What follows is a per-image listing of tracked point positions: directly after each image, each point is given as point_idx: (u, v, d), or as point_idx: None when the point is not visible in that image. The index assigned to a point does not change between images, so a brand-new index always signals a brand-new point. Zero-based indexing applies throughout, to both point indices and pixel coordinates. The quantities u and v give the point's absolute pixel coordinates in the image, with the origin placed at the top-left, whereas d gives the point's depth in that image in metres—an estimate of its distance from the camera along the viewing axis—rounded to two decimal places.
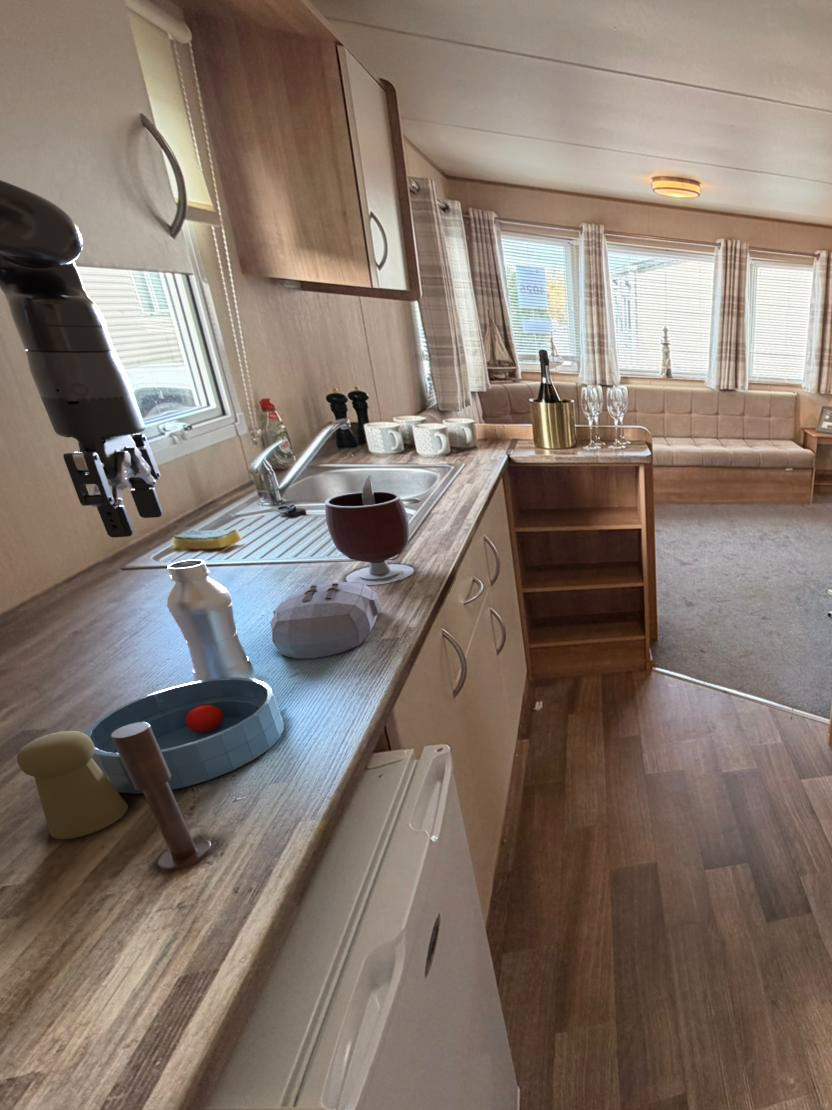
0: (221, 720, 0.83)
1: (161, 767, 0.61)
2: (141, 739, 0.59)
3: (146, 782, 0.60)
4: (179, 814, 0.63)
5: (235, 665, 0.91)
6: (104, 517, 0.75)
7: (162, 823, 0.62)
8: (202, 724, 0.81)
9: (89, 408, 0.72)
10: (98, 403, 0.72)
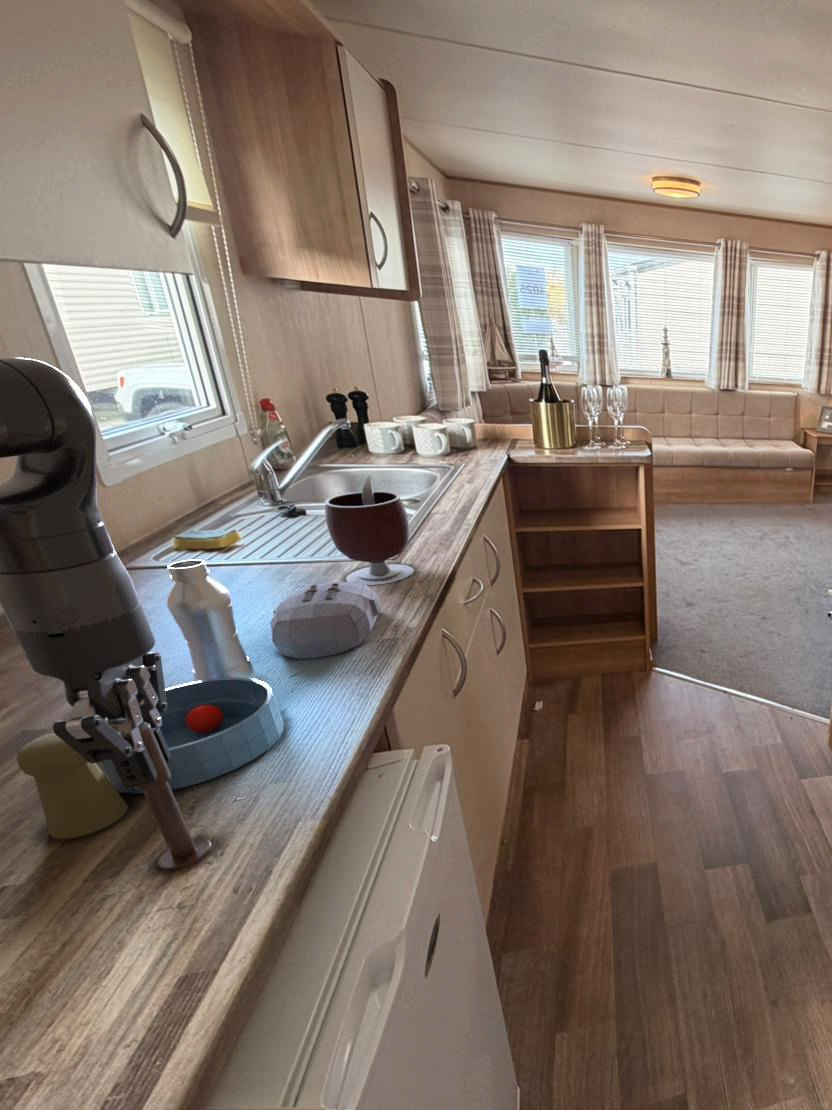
0: (221, 720, 0.83)
1: (161, 767, 0.61)
2: (142, 739, 0.59)
3: None
4: (179, 814, 0.63)
5: (235, 665, 0.91)
6: (119, 768, 0.57)
7: (162, 823, 0.62)
8: (202, 724, 0.81)
9: (79, 639, 0.52)
10: (91, 631, 0.52)
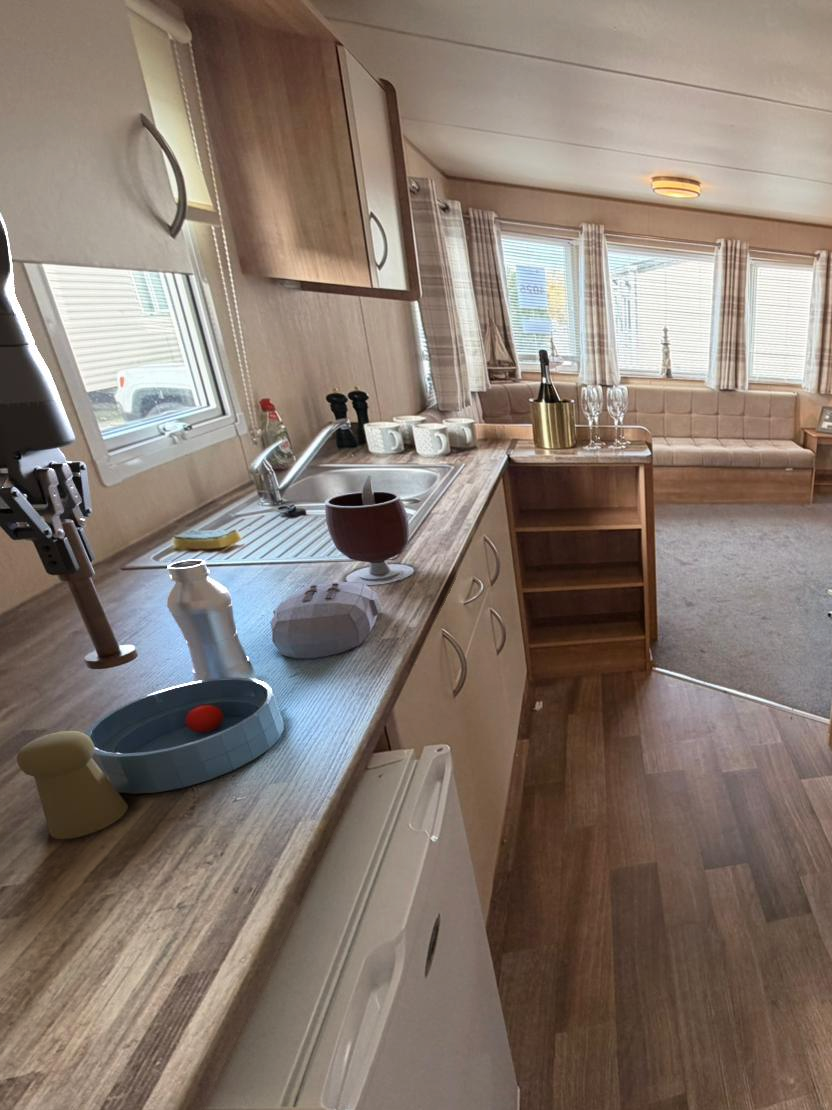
0: (221, 720, 0.83)
1: (83, 562, 0.66)
2: (64, 530, 0.64)
3: None
4: (103, 612, 0.69)
5: (235, 665, 0.91)
6: (41, 552, 0.63)
7: (86, 618, 0.68)
8: (202, 724, 0.81)
9: None
10: (10, 410, 0.58)
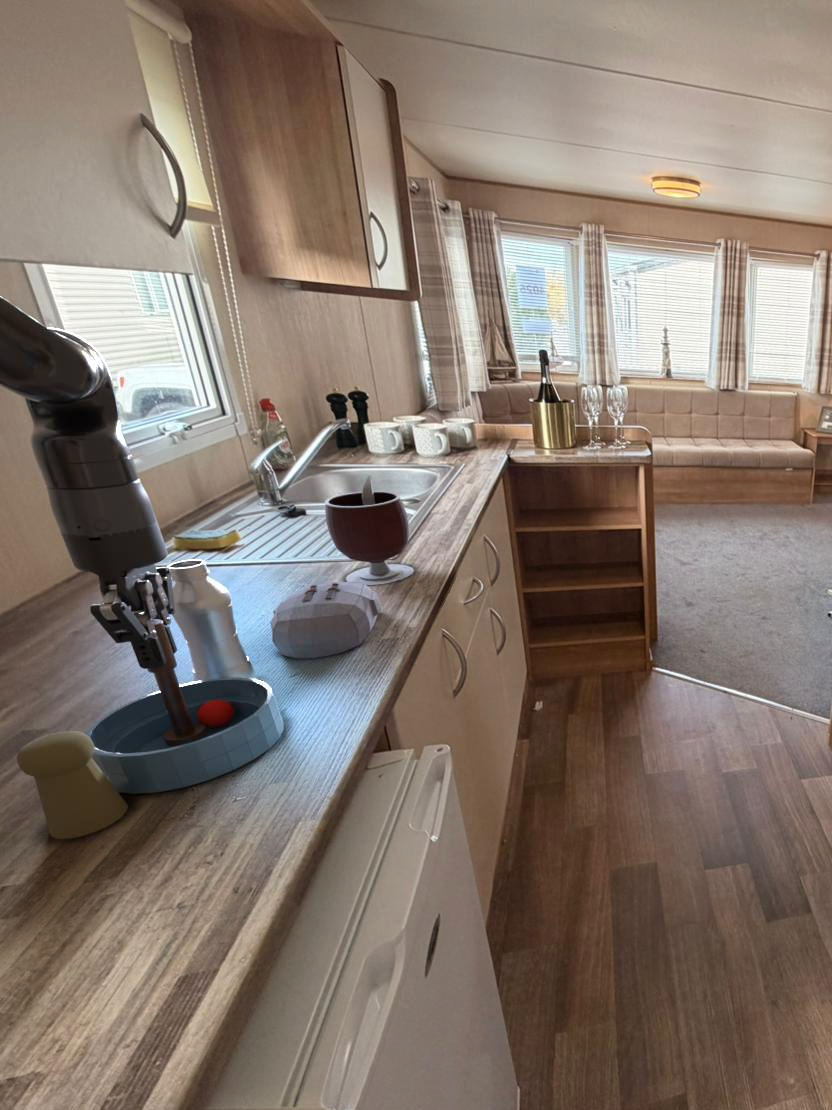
0: (229, 720, 0.84)
1: (169, 655, 0.77)
2: (156, 630, 0.75)
3: None
4: (182, 697, 0.79)
5: (235, 665, 0.91)
6: (137, 651, 0.74)
7: (168, 703, 0.78)
8: (215, 714, 0.83)
9: (111, 543, 0.69)
10: (121, 537, 0.69)
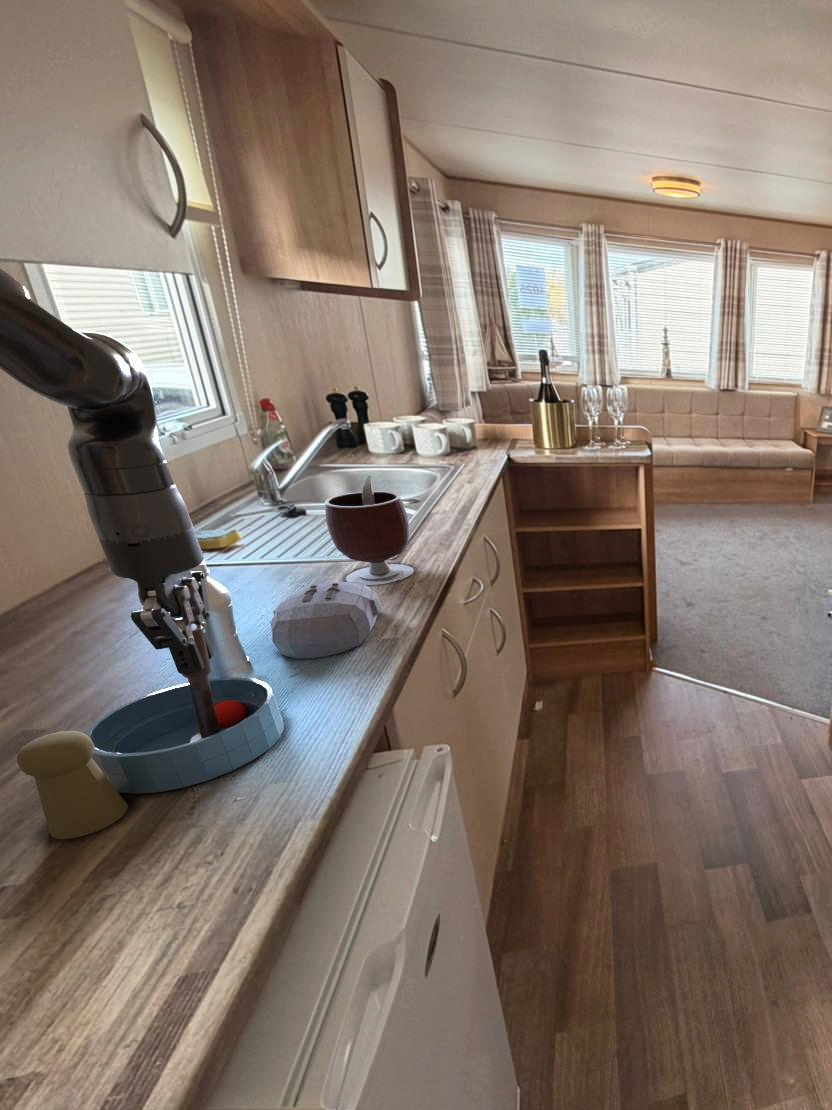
0: None
1: (207, 660, 0.77)
2: (198, 635, 0.75)
3: None
4: (213, 702, 0.79)
5: (235, 665, 0.91)
6: (176, 656, 0.73)
7: (200, 708, 0.78)
8: (238, 709, 0.84)
9: (150, 549, 0.68)
10: (159, 543, 0.68)
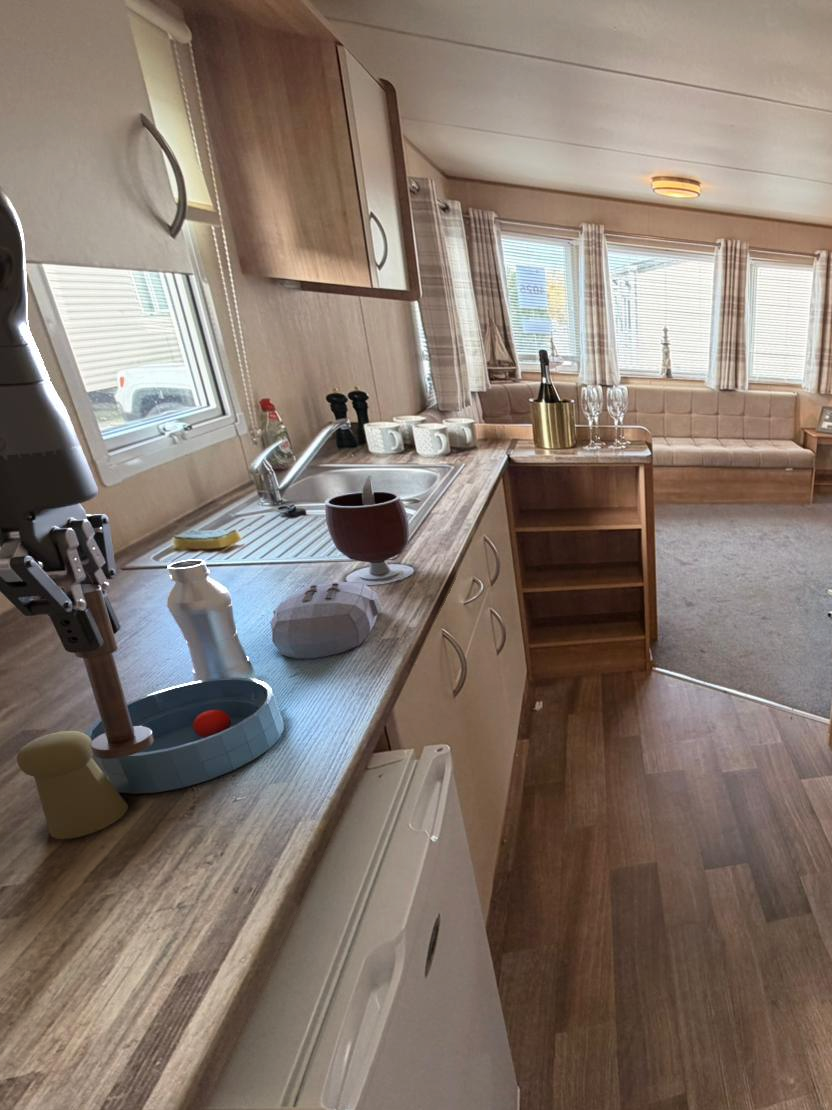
0: (225, 713, 0.82)
1: (110, 634, 0.56)
2: (93, 599, 0.54)
3: None
4: (122, 692, 0.58)
5: (235, 665, 0.91)
6: (59, 627, 0.53)
7: (103, 699, 0.57)
8: (217, 725, 0.81)
9: (8, 470, 0.47)
10: (21, 462, 0.48)
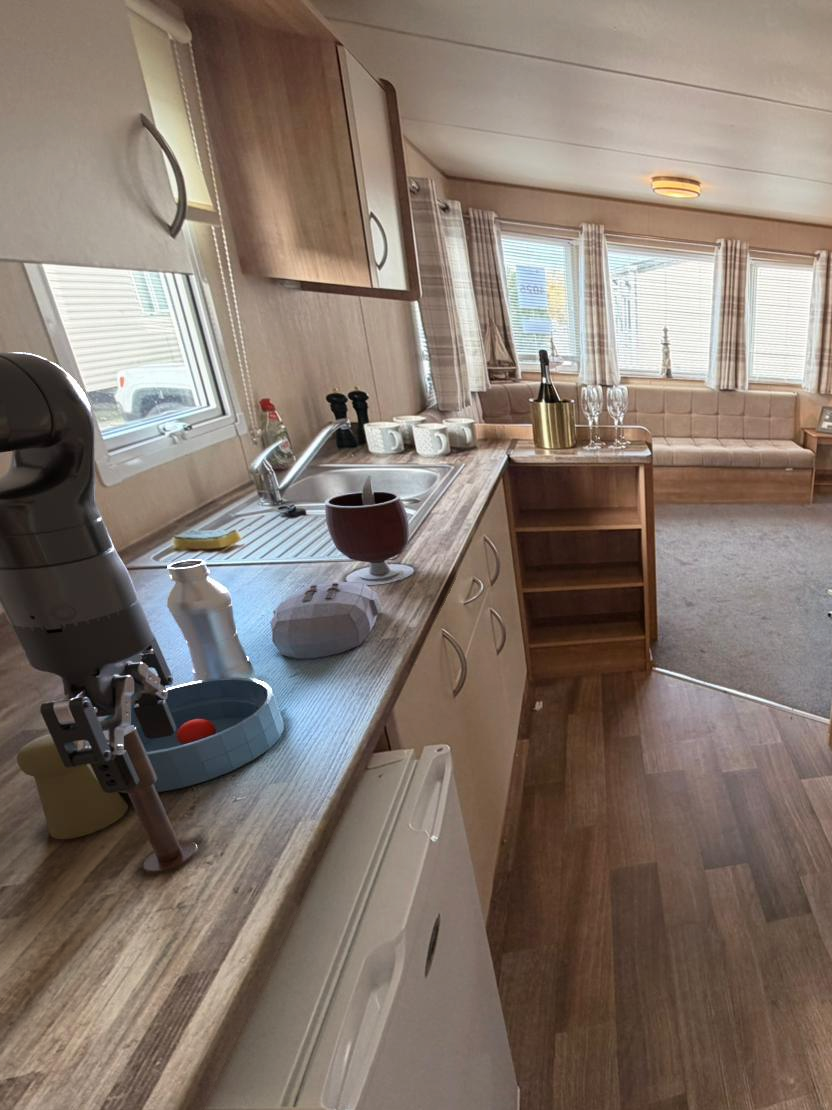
0: (197, 726, 0.79)
1: (148, 768, 0.60)
2: (130, 740, 0.59)
3: None
4: (166, 816, 0.63)
5: (235, 665, 0.91)
6: (98, 772, 0.55)
7: (149, 826, 0.62)
8: None
9: (78, 635, 0.52)
10: (89, 626, 0.52)
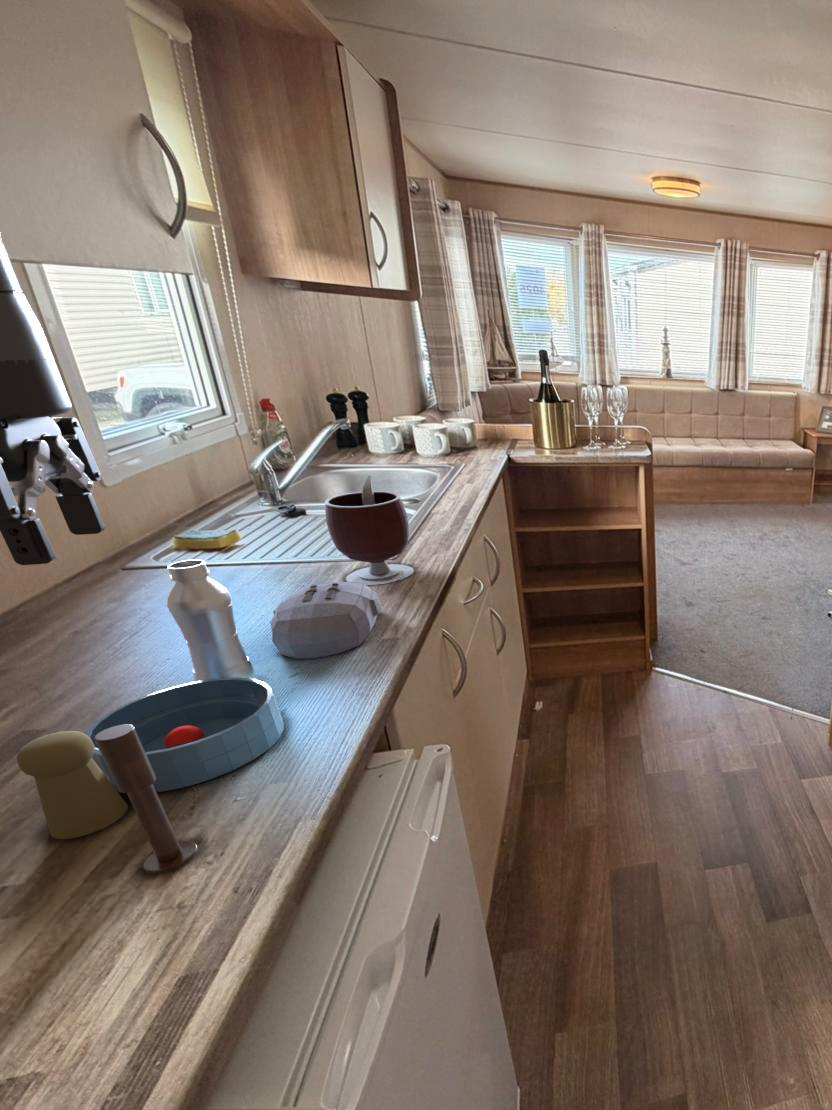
0: (180, 743, 0.77)
1: (147, 768, 0.60)
2: (129, 740, 0.59)
3: (134, 784, 0.60)
4: (165, 816, 0.63)
5: (235, 665, 0.91)
6: (7, 536, 0.51)
7: (149, 826, 0.62)
8: None
9: None
10: None
